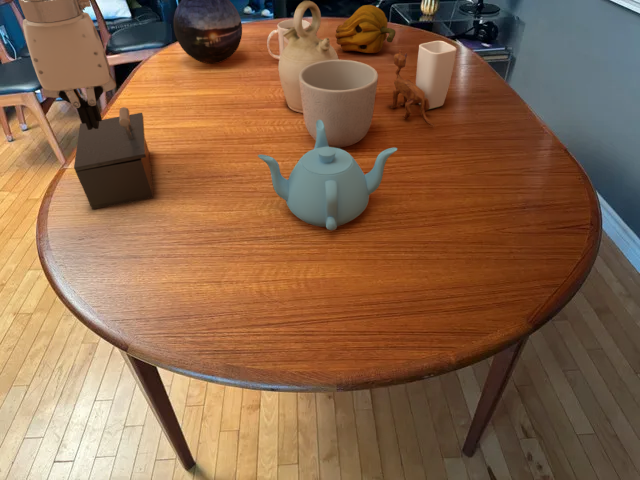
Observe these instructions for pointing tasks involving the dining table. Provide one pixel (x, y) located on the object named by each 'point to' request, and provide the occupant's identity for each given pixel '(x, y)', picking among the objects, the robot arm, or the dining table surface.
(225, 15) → the decorative sphere
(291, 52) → the jug
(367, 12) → the fruit
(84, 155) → the bin lid
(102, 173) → the bin
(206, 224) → the dining table surface
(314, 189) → the teapot
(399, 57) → the cat figurine
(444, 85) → the cup
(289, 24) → the mug
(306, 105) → the planter
